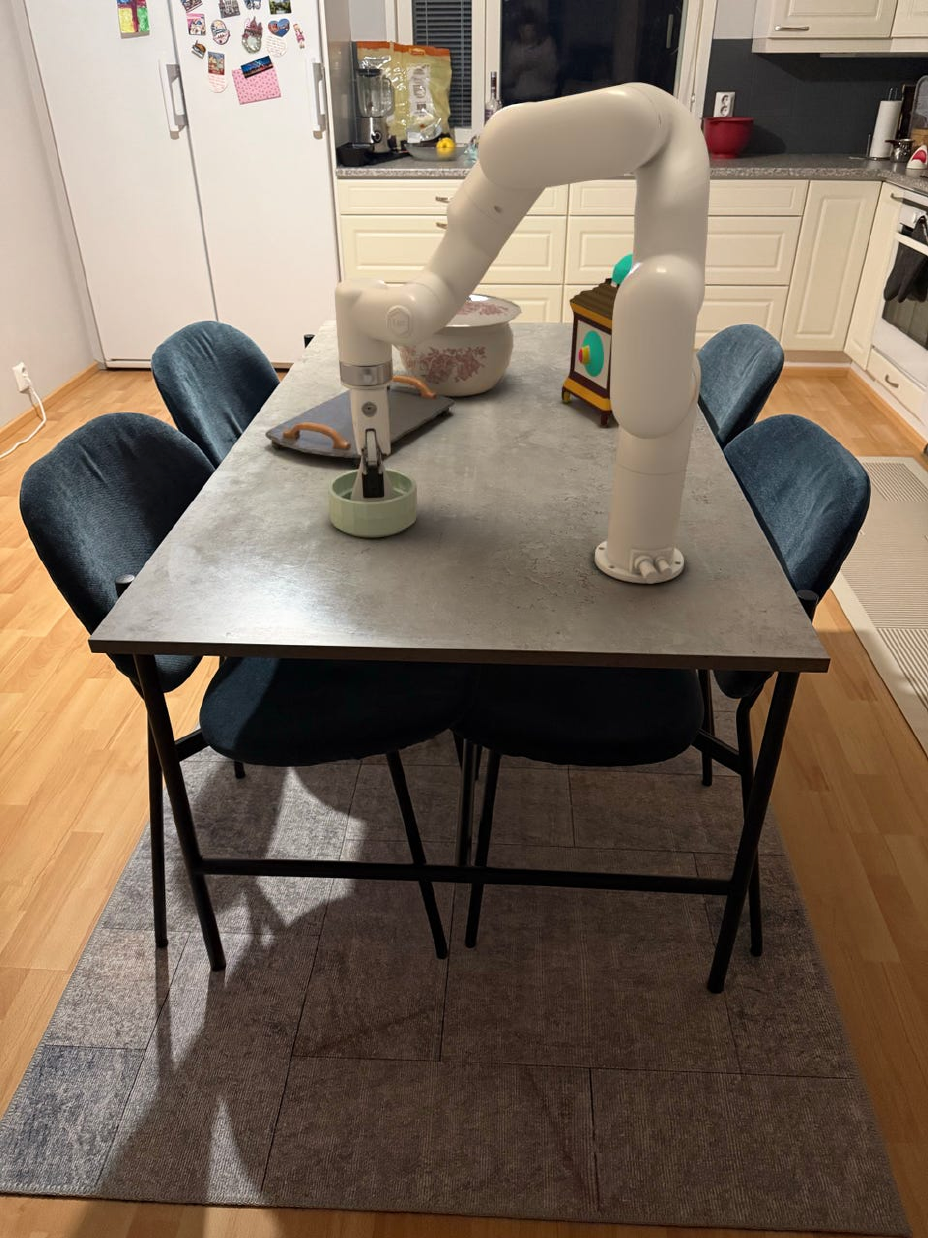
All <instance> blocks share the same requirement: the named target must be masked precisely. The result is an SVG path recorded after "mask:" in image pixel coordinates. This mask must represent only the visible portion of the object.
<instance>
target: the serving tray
mask: <svg viewBox="0 0 928 1238" xmlns="http://www.w3.org/2000/svg"><path fill="white" fill-rule="evenodd" d="M393 383H398V384H399V383H401V384H406V385H410V386H413V387H410V386H404V385H397V384H396V385H395V384H391V385H389V386H387V387H386V388H387V397H388V411H389V432H390V445H391V444H393V443H395V442H397V441H399V440H400V439H401V438H402V437H404V436H405V435H407V434H409V433H412V432H414V431H415V430H417V429H418V428H419V427H421V426H422V425H424V424H425V423H428V422H429V421H431V420H433V419H435V418H436V416H438V415H441V416H447V415H449V413H450V408H451V407H453V406H454V405H455V404H456V402H455V400H453V399H452V398H451V397H447V396H442V395H439V394H436V393H434V392H431V391H430V390H429V389H428V387H427V386H426V385H425V384H424V383H423V382H421V381H420V380H417V379H415V378H411V377H410V376H407V375H393ZM264 436H265V438H267V439H268V440H270V441H271V446H272V447H273V449H274V450H275V451H276V450H282V448H283V447H285V448H289V449H292V450H296V451H298V452H301V453H302V452H303V453H307V454H313V455H321V456H327V457H334V458H335V457H336V458H345V459H353V464H354V466H355V467H356V469H359V467H360V458H361V457H362V456H361V455H359V454H358V452H357V446H356V441H355V436H354V429H353V422H352V413H351V401H350V389H348V390H346V391H344V392H342V393H340V394H338V395H336V396H334V397H333V398H331V399H328V400H326V401H323V402H322V403H320V404H318V405H316V406H314V407H313V408H309V409H308V410H306V411H304V412H302V413H300V414H298V415H296V416H294V417H292V418H290V419H288V420H286V421H284V422H282V423H279V424H278V425H277V426H274V427H272V428H270V429H268V430H267V431H266V432H265V435H264Z"/></svg>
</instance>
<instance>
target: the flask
mask: <svg viewBox="0 0 928 1238" xmlns="http://www.w3.org/2000/svg"><path fill="white" fill-rule="evenodd" d="M366 438H367V435H366ZM375 438H376V437H375ZM364 451H365V453H366V452H368V449H365V447H364ZM376 452H378V449H376ZM377 460H378V459H377ZM367 461H368V457H366V462H367ZM381 464H382V471H383V475H384V497H382V498H364V497H363V487H362V472H363V459H362V457H361V463H360V467H359V468H358V469H359V470H358V469H357V470H358V474H357V478H356V481H355V484H354V487H353V490H352V493H351V500H352V501H359V502H381V501H386V500H392V499H395V498H396V496H395V491H394V489H393V486H392V484H391V482H390V480H389V477H388V475H387V473H386V470H385V469H386V467H385V465H384V463H383V460H382V459H381Z"/></svg>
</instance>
